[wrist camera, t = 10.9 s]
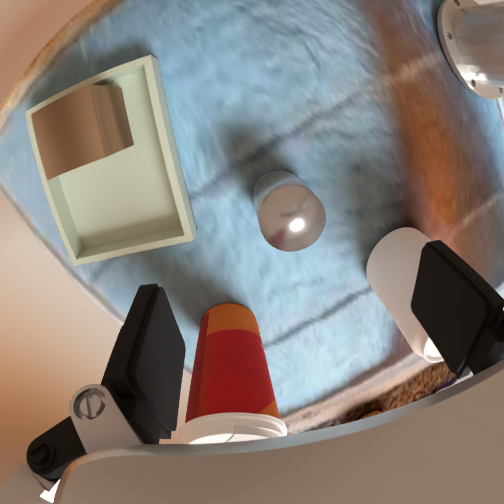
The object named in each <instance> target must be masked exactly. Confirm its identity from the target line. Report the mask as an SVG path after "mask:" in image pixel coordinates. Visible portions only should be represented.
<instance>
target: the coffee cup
mask: <svg viewBox="0 0 504 504" xmlns="http://www.w3.org/2000/svg"><path fill="white" fill-rule="evenodd" d="M286 435H287V428H286V426H285V423H284V422H283V421H282V420H280V417H279V413H278V408H277V404H276V400H275V396H274V391H273V387H272V383H271V379H270V374H269V370H268V366H267V362H266V357H265V353H264V349H263V345H262V341H261V336H260V332H259V328H258V325H257V321H256V318H255V316H254V314H253V313H252V312H251V311H250V310H249V309H248V308H246V307H244V306H242V305H239V304H235V303H223V304H219V305H216V306H214V307H212V308H210V309H209V310H208V311H207V312H206V313H205V314H204V316H203V319H202V322H201V326H200V331H199V337H198V342H197V348H196V354H195V360H194V366H193V372H192V379H191V385H190V392H189V399H188V406H187V413H186V420H185V424H184V425H183V426H182V427H181V429H180V437H181V439H182V441H183V442H184V444H207V443H224V442H237V441H248V440H258V439H266V438H274V437H281V436H286Z"/></svg>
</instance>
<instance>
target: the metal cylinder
mask: <svg viewBox="0 0 504 504" xmlns="http://www.w3.org/2000/svg"><path fill="white" fill-rule="evenodd" d="M253 203H254V206H255V210H256V214H257V217H258V221H259V225H260V228H261V232H262V234H263V236H264V238H265V239H266V241H267V242H268V243H269V244H270V245H272V246H273V247H275V248H277V249H279V250H282V251H298V250H302V249H305V248H307V247H309V246H310V245H312V244H313V243H314V242H315V241H316V240H317V239H318V238H319V236H320V235H321V233H322V232H323V229H324V226H325V221H326V215H325V210H324V207H323V205H322V203H321V201H320V200H319V199H318V198H317V197H316V196H315V195H314V194H313V193H312V191H311V190H310V189H309V188H308V187H307V186H306V185H305V184H304V183H303V182H302V181H301V180H300V179H299V178H298V177H297V176H296V175H294V174H293V173H291V172H289V171H285V170H274V171H270V172H268V173H266V174H264V175H263V176H262V177H261V178H259V180H258V181H257V182H256V184H255V186H254V189H253Z"/></svg>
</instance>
